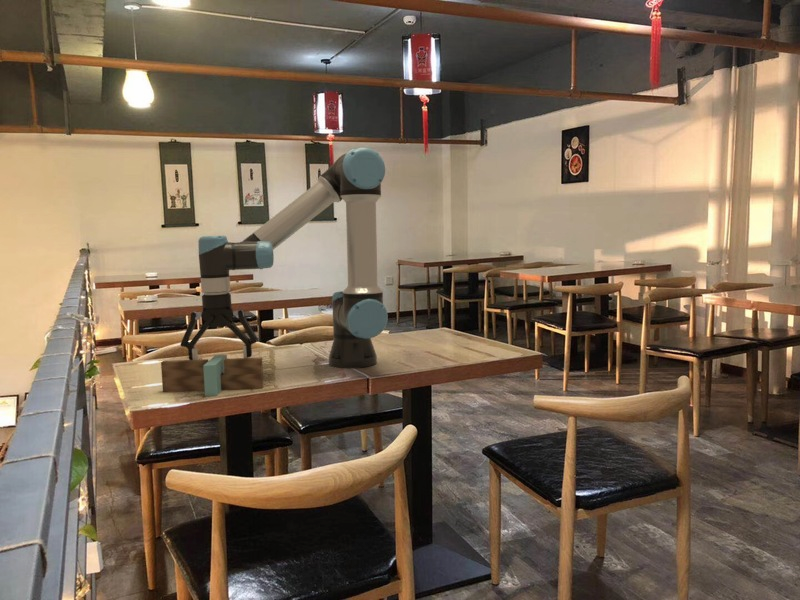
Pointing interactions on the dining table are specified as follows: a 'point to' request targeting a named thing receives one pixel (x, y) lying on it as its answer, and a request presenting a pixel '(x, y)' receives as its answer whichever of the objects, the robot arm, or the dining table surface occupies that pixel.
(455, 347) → the dining table surface
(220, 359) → the teal green block
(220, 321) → the robot arm
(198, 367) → the walnut board
